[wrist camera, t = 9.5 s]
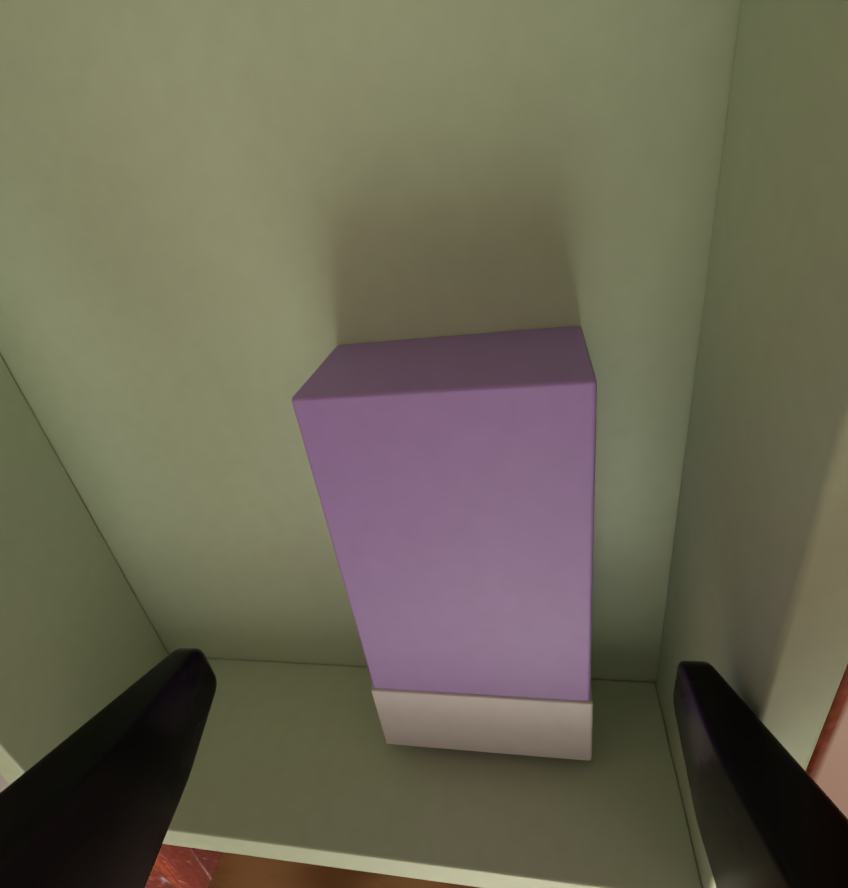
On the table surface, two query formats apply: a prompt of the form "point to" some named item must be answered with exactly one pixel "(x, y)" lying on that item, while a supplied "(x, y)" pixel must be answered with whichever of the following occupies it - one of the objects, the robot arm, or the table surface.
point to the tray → (412, 317)
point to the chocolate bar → (465, 531)
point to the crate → (304, 876)
